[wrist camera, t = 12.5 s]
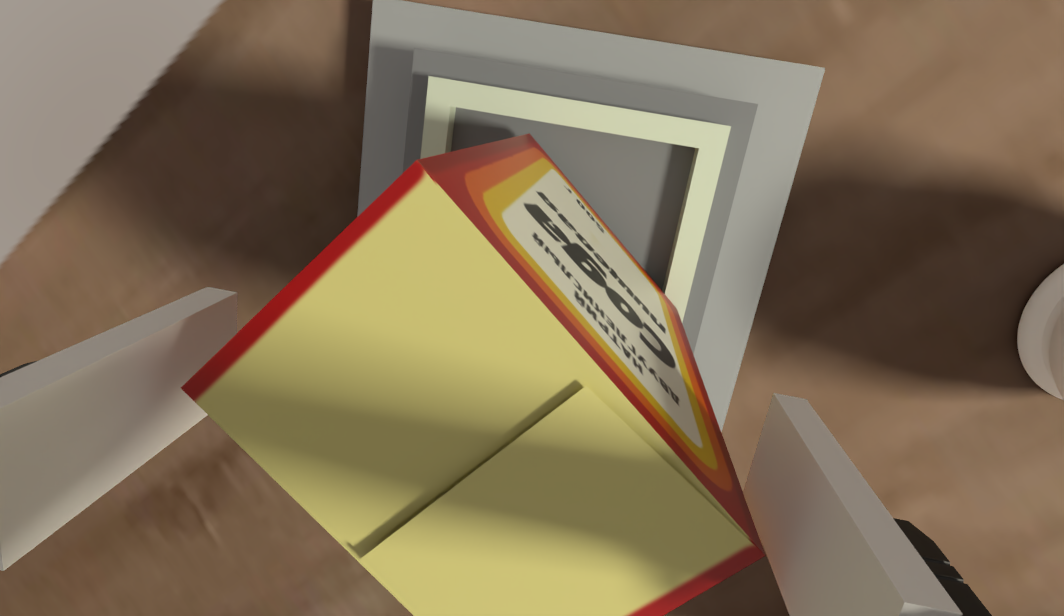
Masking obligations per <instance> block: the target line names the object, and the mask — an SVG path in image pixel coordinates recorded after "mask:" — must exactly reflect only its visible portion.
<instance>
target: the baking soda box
mask: <svg viewBox="0 0 1064 616" xmlns="http://www.w3.org/2000/svg"><path fill="white" fill-rule="evenodd" d="M181 389H182V390H183V391H184V392H185V393H186V394H187V395H188V396H189V397H190V398H191V399H192V400H193V401H194V402H195V403H196V404H197V405H198V406H199V407H200V408H201V409H202V410H204V411H205V412H206V413H207V414H208V415H209V416H210V417H211V418H212V419H213V420H214V421H215V422H216V423H217V424H218V425H219V426H220V427H221V428H222V429H223V430H224V431H225V432H226V433H227V434H228V435H229V436H230V437H231V438H232V439H233V440H234V441H235V442H236V443H237V444H238V445H239V446H240V447H241V448H242V449H244V450H245V451H246V452H247V453H248V454H249V455H250V456H251V457H252V458H253V459H254V460H255V461H256V462H257V463H258V464H259V465H260V466H261V467H262V468H263V469H264V470H265V471H266V472H267V473H268V474H269V475H270V476H271V477H272V478H273V479H274V480H275V481H276V482H277V483H278V484H279V485H280V486H281V487H282V488H283V489H285V490H286V491H287V492H288V493H289V494H290V495H291V496H292V497H293V498H294V499H295V500H296V501H297V502H298V503H299V504H300V505H301V506H302V507H303V508H304V509H305V510H306V511H307V512H308V513H309V514H310V515H311V516H312V517H313V518H314V519H315V520H316V521H317V522H318V523H319V524H320V525H321V526H322V527H323V528H325V529H326V530H327V531H328V532H329V533H330V534H331V535H332V536H333V537H334V538H335V539H336V540H337V541H338V542H339V543H340V544H341V545H342V546H343V547H344V548H345V549H346V550H347V551H348V552H349V553H350V554H351V555H352V556H353V557H354V558H355V559H356V560H357V561H358V562H359V563H360V564H361V565H362V566H363V567H365V568H366V569H367V570H368V571H369V572H370V573H371V574H372V575H373V576H374V577H375V578H376V579H377V580H378V581H379V582H380V583H381V584H382V585H383V586H384V587H385V588H386V589H387V590H388V591H389V592H390V593H391V594H392V595H393V596H394V597H395V598H396V599H397V600H398V601H399V602H400V603H401V604H402V605H403V606H404V607H406V608H407V609H408V610H409V611H410V612H411V613H412V614H413V615H414V616H663V615H665V614H667V613H668V612H670V611H672V610H674V609H675V608H677V607H679V606H680V605H682V604H684V603H686V602H687V601H689V600H691V599H692V598H694V597H696V596H698V595H699V594H701V593H703V592H704V591H706V590H708V589H709V588H711V587H713V586H715V585H716V584H718V583H720V582H721V581H723V580H725V579H727V578H728V577H730V576H732V575H733V574H735V573H737V572H739V571H740V570H742V569H744V568H745V567H747V566H749V565H751V564H752V563H754V562H756V561H757V560H759V559H761V558H763V557H764V556H765V553H764V550H763V547H762V545H761V542H760V539H759V536H758V533H757V531H756V528H755V525H754V522H753V520H752V517H751V514H750V511H749V508H748V506H747V503H746V500H745V497H744V494H743V492H742V489H741V486H740V483H739V480H738V478H737V475H736V472H735V469H734V467H733V464H732V461H731V458H730V455H729V453H728V450H727V447H726V444H725V441H724V439H723V436H722V433H721V430H720V427H719V425H718V422H717V419H716V416H715V414H714V411H713V408H712V405H711V402H710V400H709V397H708V394H707V391H706V388H705V386H704V383H703V380H702V377H701V375H700V372H699V369H698V366H697V363H696V361H695V358H694V355H693V352H692V349H691V347H690V344H689V341H688V338H687V335H686V333H685V330H684V327H683V324H682V322H681V319H680V316H679V313H678V310H677V308H676V307H675V306H674V305H673V303H672V302H671V301H670V300H669V299H668V298H667V296H666V295H665V294H664V293H663V292H662V290H661V289H660V288H659V287H658V286H657V284H656V283H655V282H654V281H653V280H652V278H651V277H650V276H649V275H648V274H647V273H646V271H645V270H644V269H643V268H642V267H641V265H640V264H639V263H638V262H637V261H636V259H635V258H634V257H633V256H632V255H631V253H630V252H629V251H628V250H627V249H626V248H625V246H624V245H623V244H622V243H621V242H620V240H619V239H618V238H617V237H616V236H615V234H614V233H613V232H612V231H611V230H610V228H609V227H608V226H607V225H606V224H605V223H604V221H603V220H602V219H601V218H600V217H599V215H598V214H597V213H596V212H595V211H594V209H593V208H592V207H591V206H590V205H589V203H588V202H587V201H586V200H585V199H584V197H583V196H582V195H581V194H580V193H579V192H578V190H577V189H576V188H575V187H574V186H573V184H572V183H571V182H570V181H569V180H568V178H567V177H566V176H565V175H564V174H563V172H562V171H561V170H560V169H559V168H558V167H557V165H556V164H555V163H554V162H553V161H552V159H551V158H550V157H549V156H548V155H547V153H546V152H545V151H544V150H543V149H542V147H541V146H540V145H539V144H538V143H537V142H536V140H535V139H534V138H533V137H532V136H531V134H525V135H521V136H517V137H513V138H508V139H504V140H500V141H495V142H491V143H487V144H483V145H478V146H474V147H470V148H465V149H461V150H457V151H453V152H448V153H444V154H440V155H435V156H431V157H427V158H423V159H418V160H416V161H415V162H414V163H413V164H412V165H411V166H410V167H409V168H408V169H407V170H406V171H405V172H404V173H403V174H402V175H400V176H399V177H398V178H397V179H396V180H395V181H394V182H393V183H392V184H391V185H390V186H389V187H388V188H387V189H386V190H385V191H384V192H383V193H382V194H381V195H380V196H379V197H378V198H377V199H376V200H375V201H374V202H373V203H371V204H370V205H369V206H368V207H367V208H366V209H365V210H364V211H363V212H362V213H361V214H360V215H359V216H358V217H357V218H356V219H355V220H354V221H353V222H352V223H351V224H350V225H349V226H348V227H347V228H346V229H345V230H344V231H342V232H341V233H340V234H339V235H338V236H337V237H336V238H335V239H334V240H333V241H332V242H331V243H330V244H329V245H328V246H327V247H326V248H325V249H324V250H323V251H322V252H321V253H320V254H319V255H318V256H317V257H316V258H314V259H313V260H312V261H311V262H310V263H309V264H308V265H307V266H306V267H305V268H304V269H303V270H302V271H301V272H300V273H299V274H298V275H297V276H296V277H295V278H294V279H293V280H292V281H291V282H290V283H289V284H288V285H287V286H285V287H284V288H283V289H282V290H281V291H280V292H279V293H278V294H277V295H276V296H275V297H274V298H273V299H272V300H271V301H270V302H269V303H268V304H267V305H266V306H265V307H264V308H263V309H262V310H261V311H260V312H259V313H258V314H256V315H255V316H254V317H253V318H252V319H251V320H250V321H249V322H248V323H247V324H246V325H245V326H244V327H243V328H242V329H241V330H240V331H239V332H238V333H237V334H236V335H235V336H234V337H233V338H232V339H231V340H230V341H229V342H227V343H226V344H225V345H224V346H223V347H222V348H221V349H220V350H219V351H218V352H217V353H216V354H215V355H214V356H213V357H212V358H211V359H210V360H209V361H208V362H207V363H206V364H205V365H204V366H203V367H202V368H201V369H200V370H198V371H197V372H196V373H195V374H194V375H193V376H192V377H191V378H190V379H189V380H188V381H187V382H186V383H185V384H184V385H183V386H182V387H181Z"/></svg>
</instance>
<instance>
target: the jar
mask: <svg viewBox="0 0 1064 616" xmlns="http://www.w3.org/2000/svg"><path fill="white" fill-rule="evenodd" d="M1017 346H1018V352H1019V356H1020V359H1021V362H1022V364H1023V366H1024V368H1025V370H1026V372H1027V373H1028V375H1029V376H1030V377H1031V379H1032V380H1033V381H1034V382H1035V383H1036V384H1037V385H1038V386H1040V387H1041V388H1042V389H1043V390H1045V391H1046V392H1048V393H1050V394H1051V395H1053V396H1055V397H1057V398H1060V399H1062V400H1064V264H1063V265H1061V266H1060V267H1059V268H1057V269H1056V270H1055V271H1054V272H1052V273H1051V274H1050V275H1049V276H1048V277H1047V278H1046V279H1045V280H1044V281H1043V282H1042V283H1041V284H1040V285H1039V287H1038V288H1037V289H1036V290H1035V292H1034V293H1033V294H1032V296H1031V297H1030V299H1029V301H1028V303H1027V304H1026V306H1025V308H1024V310H1023V313H1022V316H1021V319H1020V322H1019V326H1018V334H1017Z"/></svg>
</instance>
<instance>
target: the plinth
mask: <svg viewBox="0 0 1064 616" xmlns="http://www.w3.org/2000/svg"><path fill="white" fill-rule="evenodd" d="M824 71H825V68H822V67H816V66H810V65H803V64H797V63H791V62H785V61H778V60H772V59H766V58H760V57H753V56H747V55H741V54H734V53H728V52H722V51H716V50H709V49H703V48H697V47H690V46H684V45H678V44H672V43H665V42H659V41H653V40H646V39H640V38H634V37H628V36H621V35H615V34H609V33H602V32H596V31H590V30H584V29H577V28H571V27H565V26H559V25H552V24H546V23H540V22H533V21H527V20H521V19H515V18H508V17H502V16H496V15H489V14H483V13H477V12H471V11H464V10H458V9H452V8H445V7H439V6H433V5H427V4H420V3H414V2H408V1H401V0H373V6H372V20H371V34H370V48H369V62H368V75H367V89H366V103H365V117H364V131H363V145H362V159H361V173H360V187H359V201H358V215H357V217H358V216H359V215H360V214H361V213H362V212H363V211H364V210H365V209H366V208H367V207H368V206H369V205H370V204H371V203H373V202H374V201H375V200H376V199H377V198H378V197H379V196H380V195H381V194H382V193H383V192H384V191H385V190H386V189H387V188H388V187H389V186H390V185H391V184H392V183H393V182H394V181H395V180H396V179H397V178H398V177H399V176H400V175H402V174H403V173H404V172H405V171H406V170H407V169H408V168H409V167H410V166H411V165H412V164H413V163H414V162H415V161H416V160H418V159H423V158H427V157H431V156H435V155H440V154H444V153H448V152H453V151H457V150H461V149H465V148H470V147H474V146H478V145H483V144H487V143H491V142H495V141H500V140H504V139H508V138H513V137H517V136H521V135H525V134H531V136H532V137H533V138H534V139H535V140H536V142H537V143H538V144H539V145H540V146H541V147H542V149H543V150H544V151H545V152H546V153H547V155H548V156H549V157H550V158H551V159H552V161H553V162H554V163H555V164H556V165H557V167H558V168H559V169H560V170H561V171H562V172H563V174H564V175H565V176H566V177H567V178H568V180H569V181H570V182H571V183H572V184H573V186H574V187H575V188H576V189H577V190H578V192H579V193H580V194H581V195H582V196H583V197H584V199H585V200H586V201H587V202H588V203H589V205H590V206H591V207H592V208H593V209H594V211H595V212H596V213H597V214H598V215H599V217H600V218H601V219H602V220H603V221H604V223H605V224H606V225H607V226H608V227H609V228H610V230H611V231H612V232H613V233H614V234H615V236H616V237H617V238H618V239H619V240H620V242H621V243H622V244H623V245H624V246H625V248H626V249H627V250H628V251H629V252H630V253H631V255H632V256H633V257H634V258H635V259H636V261H637V262H638V263H639V264H640V265H641V267H642V268H643V269H644V270H645V271H646V273H647V274H648V275H649V276H650V277H651V278H652V280H653V281H654V282H655V283H656V284H657V286H658V287H659V288H660V289H661V290H662V292H663V293H664V294H665V295H666V296H667V298H668V299H669V300H670V301H671V302H672V303H673V305H674V306H675V307H676V308H677V310H678V313H679V316H680V319H681V322H682V324H683V327H684V330H685V333H686V335H687V338H688V341H689V344H690V347H691V349H692V352H693V355H694V358H695V361H696V363H697V366H698V369H699V372H700V375H701V377H702V380H703V383H704V386H705V388H706V391H707V394H708V397H709V400H710V402H711V405H712V408H713V411H714V414H715V416H716V419H717V422H718V425H719V427H720V430H721V431H722V428H723V424H724V421H725V417H726V414H727V410H728V407H729V404H730V400H731V397H732V393H733V390H734V386H735V383H736V379H737V376H738V372H739V369H740V365H741V362H742V358H743V355H744V351H745V348H746V344H747V341H748V337H749V334H750V330H751V327H752V323H753V320H754V316H755V313H756V309H757V306H758V302H759V299H760V295H761V292H762V288H763V285H764V281H765V278H766V274H767V271H768V267H769V264H770V260H771V257H772V253H773V250H774V246H775V243H776V239H777V236H778V232H779V229H780V225H781V222H782V218H783V215H784V211H785V208H786V204H787V201H788V197H789V194H790V190H791V187H792V183H793V180H794V176H795V173H796V169H797V166H798V162H799V159H800V155H801V152H802V148H803V145H804V141H805V138H806V134H807V131H808V127H809V124H810V120H811V117H812V113H813V110H814V106H815V103H816V99H817V96H818V92H819V89H820V85H821V82H822V78H823V75H824Z"/></svg>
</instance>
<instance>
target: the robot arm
mask: <svg viewBox="0 0 1064 616" xmlns="http://www.w3.org/2000/svg"><path fill="white" fill-rule="evenodd" d="M236 334H237V292H232V291H227V290H222V289H216V288H211V287H206V288H204V289H202V290H199V291H197V292H195V293H192V294H190V295H188V296H186V297H183V298H181V299H179V300H176V301H174V302H172V303H170V304H167V305H165V306H163V307H160V308H158V309H156V310H154V311H151V312H149V313H147V314H144V315H142V316H140V317H137V318H135V319H133V320H131V321H128V322H126V323H124V324H121V325H119V326H117V327H115V328H112V329H110V330H108V331H105V332H103V333H101V334H99V335H96V336H94V337H92V338H89V339H87V340H85V341H83V342H80V343H78V344H76V345H73V346H71V347H69V348H67V349H64V350H62V351H60V352H57V353H55V354H53V355H51V356H48V357H46V358H44V359H41V360H39V361H35V362H31V363H27V364H23V365H21V366H19V367H16V368H14V369H12V370H9V371H7V372H5V373H2V374H0V570H2V571H4V570H5V569H7V568H8V567H9V566H11V565H12V564H13V563H15V562H16V561H17V560H19V559H20V558H21V557H22V556H24V555H25V554H26V553H28V552H29V551H30V550H32V549H33V548H34V547H36V546H37V545H38V544H39V543H41V542H42V541H43V540H45V539H46V538H47V537H49V536H50V535H51V534H53V533H54V532H55V531H56V530H58V529H59V528H60V527H62V526H63V525H64V524H66V523H67V522H68V521H70V520H71V519H72V518H73V517H75V516H76V515H77V514H79V513H80V512H81V511H83V510H84V509H85V508H87V507H88V506H89V505H91V504H92V503H93V502H94V501H96V500H97V499H98V498H100V497H101V496H102V495H104V494H105V493H106V492H108V491H109V490H110V489H111V488H113V487H114V486H115V485H117V484H118V483H119V482H121V481H122V480H123V479H125V478H126V477H127V476H128V475H130V474H131V473H132V472H134V471H135V470H136V469H138V468H139V467H140V466H142V465H143V464H144V463H145V462H147V461H148V460H149V459H151V458H152V457H153V456H155V455H156V454H157V453H159V452H160V451H161V450H163V449H164V448H165V447H166V446H168V445H169V444H170V443H172V442H173V441H174V440H176V439H177V438H178V437H180V436H181V435H182V434H183V433H185V432H186V431H187V430H189V429H190V428H191V427H193V426H194V425H195V424H197V423H198V422H199V421H200V420H202V419H203V418H204V417H206V416H207V415H208V414H207V413H206V412H205V411H204V410H202V409H201V408H200V407H199V406H198V405H197V404H196V403H195V402H194V401H193V400H192V399H191V398H190V397H189V396H188V395H187V394H186V393H185V392H184V391H183V390H182V389H181V387H182V386H183V385H184V384H185V383H186V382H187V381H188V380H189V379H190V378H191V377H192V376H193V375H194V374H195V373H196V372H197V371H198V370H200V369H201V368H202V367H203V366H204V365H205V364H206V363H207V362H208V361H209V360H210V359H211V358H212V357H213V356H214V355H215V354H216V353H217V352H218V351H219V350H220V349H221V348H222V347H223V346H224V345H225V344H226V343H227V342H229V341H230V340H231V339H232V338H233V337H234V336H235V335H236ZM743 494H744V497H745V500H746V502H747V505H748V507H749V510H750V513H751V515H752V518H753V521H754V523H755V526H756V529H757V531H758V534H759V536H760V539H761V542H762V544H763V547H764V550H765V552H766V555H767V558H768V560H769V563H770V565H771V568H772V571H773V573H774V576H775V579H776V581H777V584H778V587H779V589H780V592H781V594H782V597H783V600H784V602H785V605H786V608H787V610H788V613H789V615H790V616H992V615H991V614H990V613H989V611H988V610H987V609H986V608H985V606H984V605H983V604H982V603H981V601H980V600H979V599H978V597H977V596H976V595H975V594H974V592H973V591H972V590H971V588H970V587H969V586H968V585H967V584H964V583H963V578H962V577H961V576H960V574H959V573H958V572H957V571H956V569H955V568H954V567H953V566H950V562H949V560H948V559H947V558H946V557H945V555H944V554H943V553H942V551H941V550H940V549H939V548H938V546H937V545H936V544H935V543H934V541H932V540H931V539H930V538H929V537H927V536H926V535H925V534H924V533H922V532H921V531H920V530H919V529H917V528H916V527H915V526H914V525H912V524H911V523H910V522H909V521H905V520H900V519H895V518H892V516H891V515H890V513H889V512H888V511H887V509H886V508H885V507H884V505H883V504H882V502H881V501H880V500H879V498H878V497H877V496H876V494H875V493H874V491H873V490H872V489H871V487H870V486H869V485H868V483H867V482H866V480H865V479H864V478H863V476H862V475H861V474H860V472H859V471H858V469H857V468H856V467H855V465H854V464H853V463H852V461H851V460H850V459H849V457H848V456H847V454H846V453H845V452H844V450H843V449H842V448H841V446H840V445H839V443H838V442H837V441H836V439H835V438H834V437H833V435H832V434H831V432H830V431H829V430H828V428H827V427H826V426H825V424H824V423H823V421H822V420H821V419H820V417H819V416H818V415H817V413H816V412H815V410H814V409H813V408H812V406H811V405H810V404H809V402H808V401H807V399H803V398H797V397H792V396H787V395H781V394H776V393H773V396H772V400H771V403H770V406H769V409H768V413H767V416H766V419H765V422H764V426H763V429H762V432H761V435H760V439H759V442H758V445H757V448H756V452H755V455H754V458H753V462H752V465H751V468H750V471H749V475H748V478H747V481H746V484H745V488H744V491H743Z"/></svg>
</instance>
